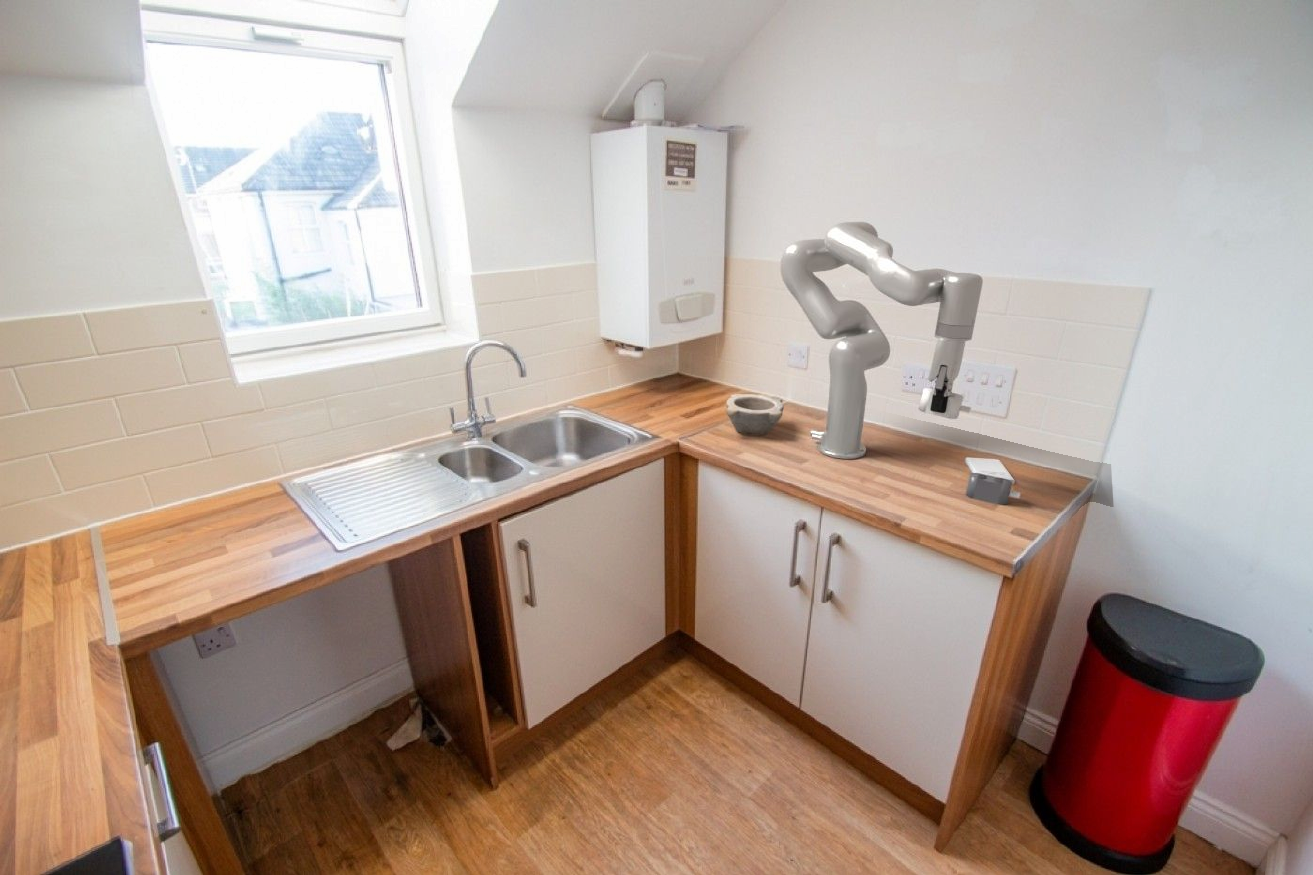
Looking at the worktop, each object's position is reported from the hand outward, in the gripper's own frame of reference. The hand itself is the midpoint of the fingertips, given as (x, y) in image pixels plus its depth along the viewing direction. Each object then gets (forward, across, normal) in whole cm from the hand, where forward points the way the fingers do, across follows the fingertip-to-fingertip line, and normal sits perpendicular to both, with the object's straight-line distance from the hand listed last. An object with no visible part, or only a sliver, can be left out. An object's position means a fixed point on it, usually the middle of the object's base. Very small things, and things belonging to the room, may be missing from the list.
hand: (939, 408), depth 140 cm
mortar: (+20, -9, -51) cm, 55 cm away
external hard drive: (+20, -14, +12) cm, 27 cm away
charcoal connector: (+19, +2, +13) cm, 23 cm away
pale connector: (+1, 0, 0) cm, 1 cm away
